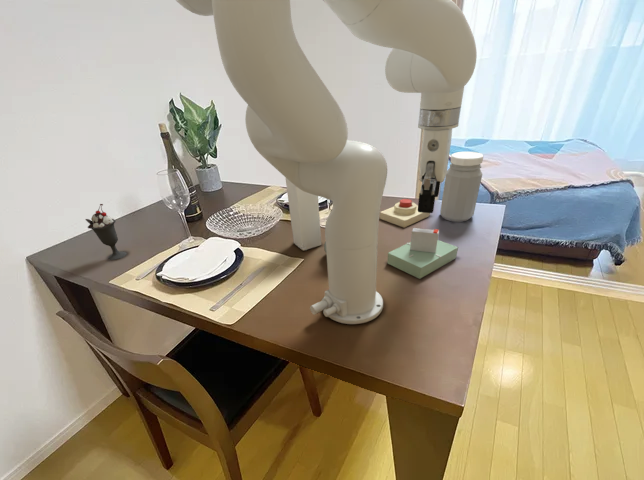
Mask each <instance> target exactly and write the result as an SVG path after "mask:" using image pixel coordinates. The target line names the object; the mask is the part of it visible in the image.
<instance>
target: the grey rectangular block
mask: <svg viewBox="0 0 644 480" xmlns="http://www.w3.org/2000/svg"><path fill="white" fill-rule="evenodd" d="M410 235H411V236H410V242H411V245H410V250H414V251H422V252H431V253H436V249H437V243H438V240H439V237H440V229H437V228H434V229H430V228H419V227H417V228H416V227H413V228H412V229H411V234H410Z"/></svg>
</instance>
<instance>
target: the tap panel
mask: <svg viewBox="0 0 644 480" xmlns="http://www.w3.org/2000/svg"><path fill="white" fill-rule="evenodd" d="M410 245H411V241H409V242H406V243H405V244H403V245H401V246H399V247H397V248H395V249H393V250H391V251H389V252H387V262H386V263H387V264H388V265H389V266H392V267H393V268H396V269H398V270H400V271H402V272H404V273H407V274H408V275H410V276H413V277H415V278H417V279H419V280H420V279H422V278H424V277H426V276H427V275H430V274H431V273H433V272H435V271H436V270H438V269H440V268H441V267H443V266H445V265H447V264H448V263H450V262H452V261H453V260H455V259H457V255H458V250H459V247H458V246H456V245H453V244H450V243H448V242H446V241H442V240H439V239H438V243H437V249H436V253H431V252H422V251H414V250H410Z"/></svg>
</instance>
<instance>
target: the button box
mask: <svg viewBox="0 0 644 480" xmlns="http://www.w3.org/2000/svg"><path fill="white" fill-rule="evenodd" d="M430 214H431V213H422V212H418V204H417V203H415V202H414V201H412V206H411V207H408V208H403V207H400V201H398V202H395V204H394V206H391V207H389V208H387V209H384V210H382V211H381V210H380V213H379V220H383V221H385V222H388V223H390V224H393V225H396V226H398V227H401V228H407V227H408V226H411V225H413V224H416V223H417V222H420V221H423V220H424V219H426V218H429V217H430V216H431V215H430Z"/></svg>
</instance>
